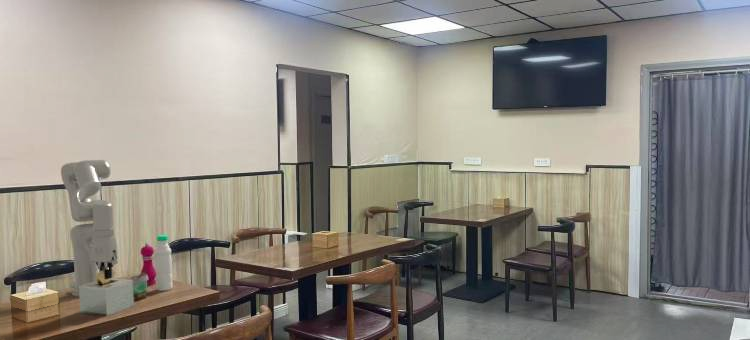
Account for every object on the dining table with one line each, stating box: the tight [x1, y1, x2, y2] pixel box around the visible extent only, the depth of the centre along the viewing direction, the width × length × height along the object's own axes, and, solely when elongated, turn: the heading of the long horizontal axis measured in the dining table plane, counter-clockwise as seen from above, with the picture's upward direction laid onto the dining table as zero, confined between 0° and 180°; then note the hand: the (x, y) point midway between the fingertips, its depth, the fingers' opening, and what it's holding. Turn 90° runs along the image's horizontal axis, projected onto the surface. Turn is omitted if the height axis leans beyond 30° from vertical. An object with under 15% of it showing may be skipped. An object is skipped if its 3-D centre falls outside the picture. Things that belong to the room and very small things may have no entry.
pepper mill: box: [139, 242, 157, 287], centre depth 275 cm, size 7×7×20 cm
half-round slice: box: [127, 272, 149, 302], centre depth 249 cm, size 12×6×10 cm, turn 168°
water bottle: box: [154, 234, 174, 292], centre depth 264 cm, size 7×7×25 cm
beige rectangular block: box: [94, 265, 116, 286], centre depth 233 cm, size 2×5×7 cm
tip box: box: [79, 277, 135, 317], centre depth 234 cm, size 14×14×11 cm
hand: (105, 277), depth 233 cm, fingers closed on beige rectangular block, 2 cm apart
